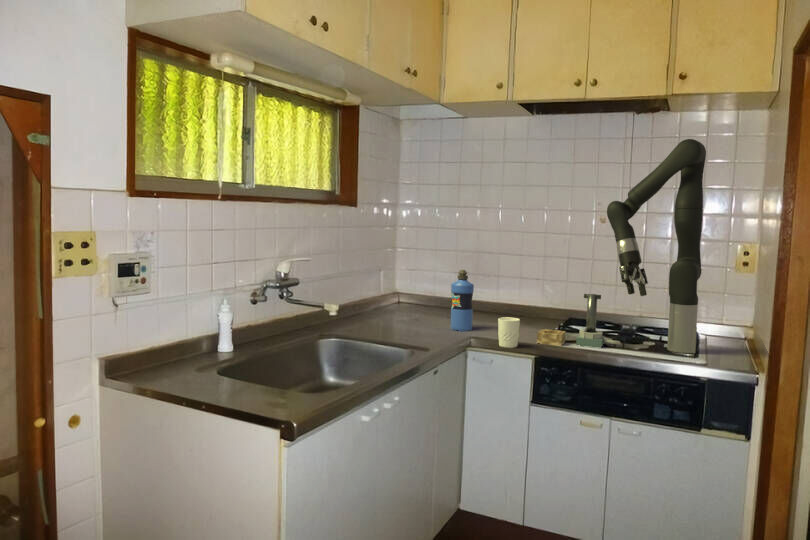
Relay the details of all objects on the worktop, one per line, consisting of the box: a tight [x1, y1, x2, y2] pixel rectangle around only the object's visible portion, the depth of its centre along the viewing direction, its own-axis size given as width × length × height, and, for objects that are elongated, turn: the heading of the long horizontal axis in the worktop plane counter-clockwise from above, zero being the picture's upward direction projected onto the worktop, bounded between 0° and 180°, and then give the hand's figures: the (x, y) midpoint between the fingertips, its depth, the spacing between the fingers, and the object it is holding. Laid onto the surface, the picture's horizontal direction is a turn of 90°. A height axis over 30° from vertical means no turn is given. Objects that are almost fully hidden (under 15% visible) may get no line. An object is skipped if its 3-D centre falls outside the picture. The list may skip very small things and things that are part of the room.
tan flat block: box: [536, 328, 567, 346], centre depth 230 cm, size 9×9×4 cm
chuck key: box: [583, 293, 602, 333], centre depth 227 cm, size 6×3×16 cm, turn 66°
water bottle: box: [450, 269, 475, 332], centre depth 253 cm, size 9×9×25 cm
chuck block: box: [575, 329, 621, 348], centre depth 226 cm, size 15×9×5 cm, turn 66°
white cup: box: [497, 316, 521, 349], centre depth 223 cm, size 8×8×10 cm
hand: (637, 294), depth 221 cm, fingers open, 8 cm apart
